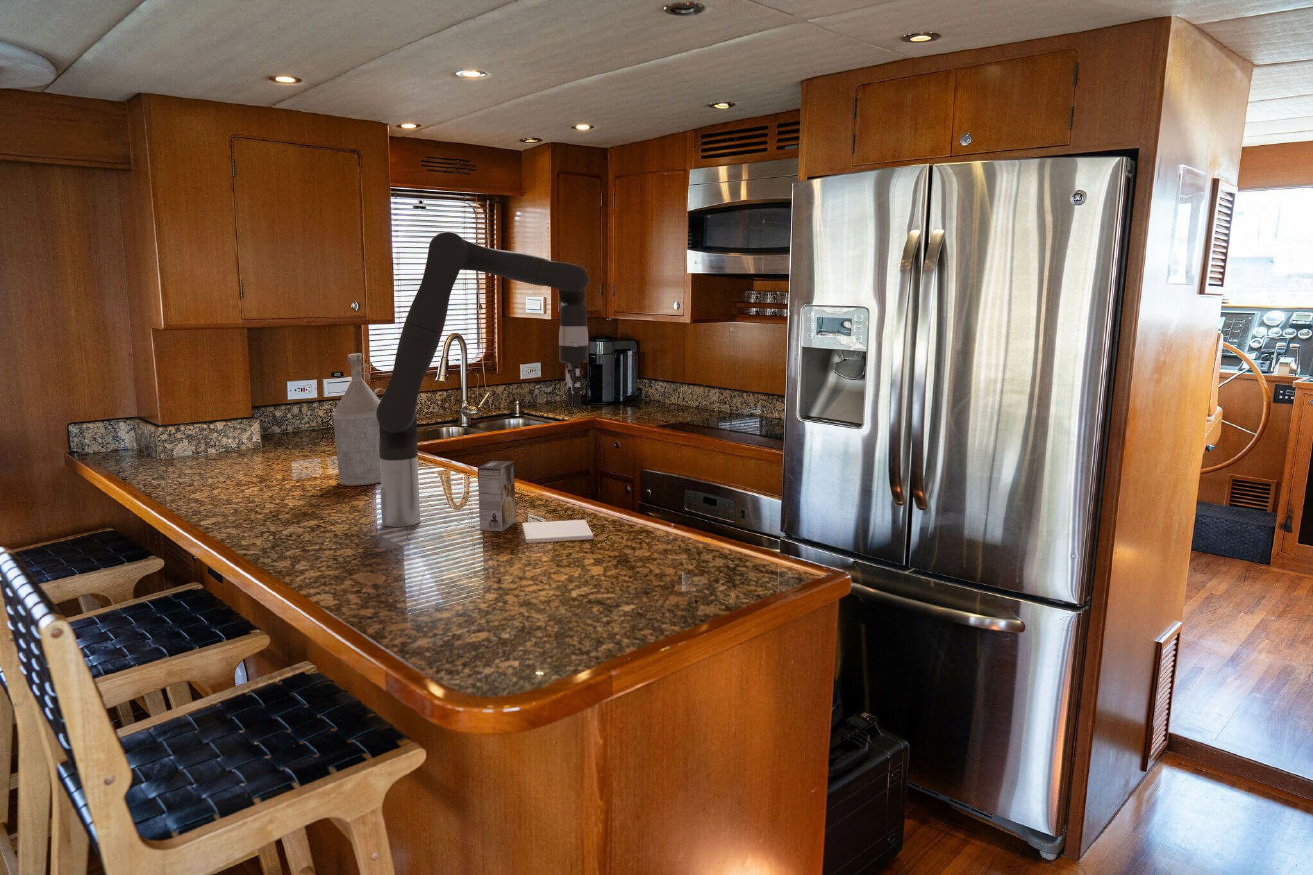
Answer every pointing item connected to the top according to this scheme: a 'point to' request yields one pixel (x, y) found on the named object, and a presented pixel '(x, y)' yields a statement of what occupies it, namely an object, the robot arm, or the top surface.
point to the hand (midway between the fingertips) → (574, 405)
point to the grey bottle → (357, 430)
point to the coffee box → (496, 495)
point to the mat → (556, 531)
